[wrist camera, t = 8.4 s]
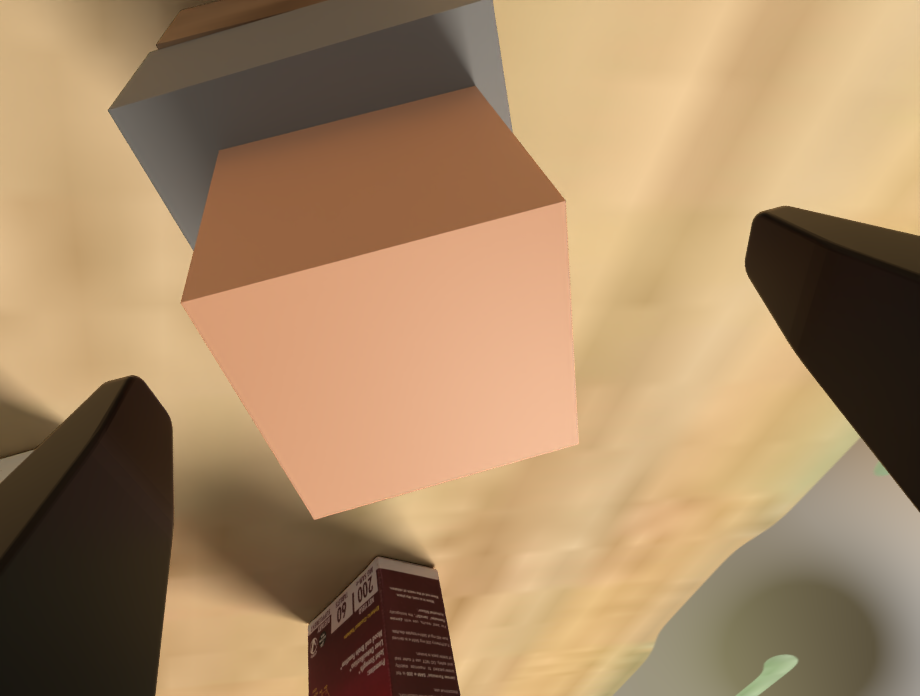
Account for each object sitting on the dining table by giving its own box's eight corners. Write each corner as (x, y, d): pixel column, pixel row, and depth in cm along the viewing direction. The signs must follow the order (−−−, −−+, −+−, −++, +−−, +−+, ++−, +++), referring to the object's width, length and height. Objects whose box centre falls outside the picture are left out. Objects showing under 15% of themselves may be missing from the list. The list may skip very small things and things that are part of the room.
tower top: (447, -35, 13) (492, -3, 10) (497, 228, 18) (538, 302, 15) (149, 52, 13) (107, 110, 10) (278, 294, 18) (274, 384, 15)
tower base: (427, -52, 16) (457, -32, 13) (468, 178, 21) (497, 231, 18) (181, 9, 16) (155, 44, 13) (277, 229, 21) (275, 292, 18)
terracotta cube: (475, 85, 11) (565, 200, 8) (505, 292, 15) (579, 444, 11) (218, 150, 11) (180, 302, 7) (308, 345, 14) (314, 520, 11)
